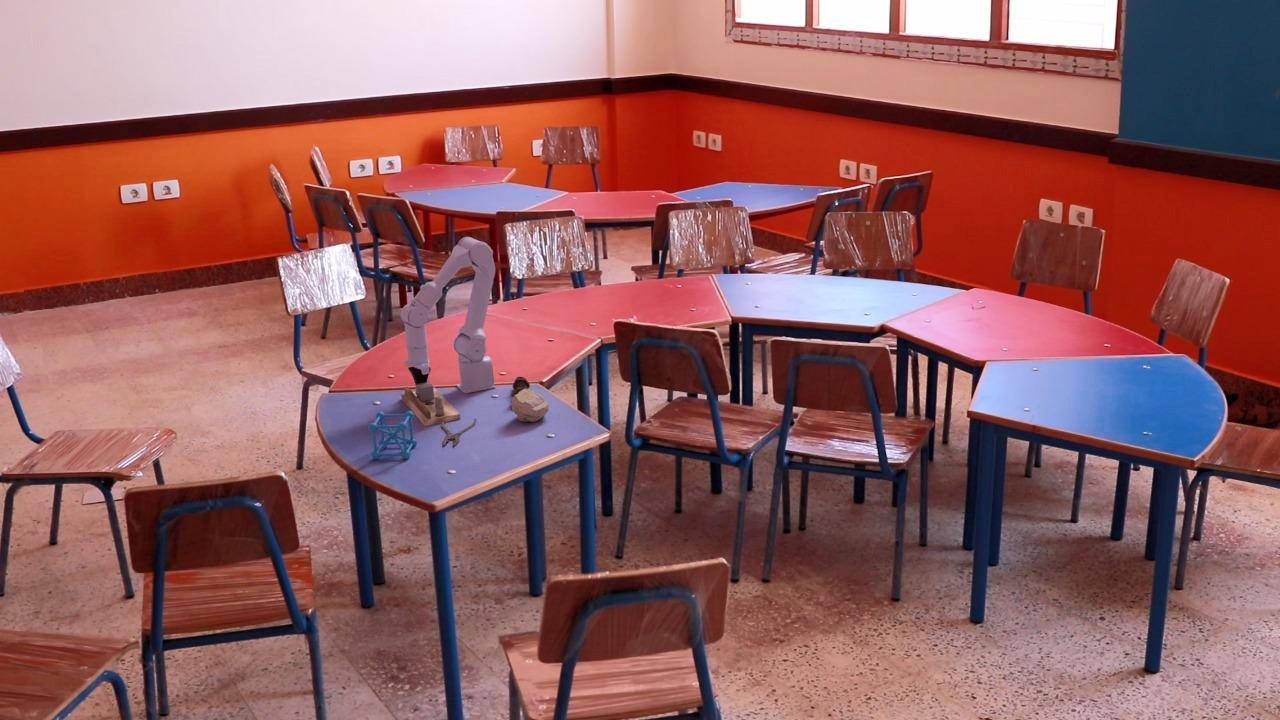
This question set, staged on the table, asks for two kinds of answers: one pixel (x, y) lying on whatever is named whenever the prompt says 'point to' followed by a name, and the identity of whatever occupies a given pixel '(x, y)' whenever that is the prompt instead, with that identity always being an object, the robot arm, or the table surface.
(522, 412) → the beige rock
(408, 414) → the molecular structure
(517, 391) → the bolt
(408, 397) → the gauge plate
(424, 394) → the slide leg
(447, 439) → the pliers
